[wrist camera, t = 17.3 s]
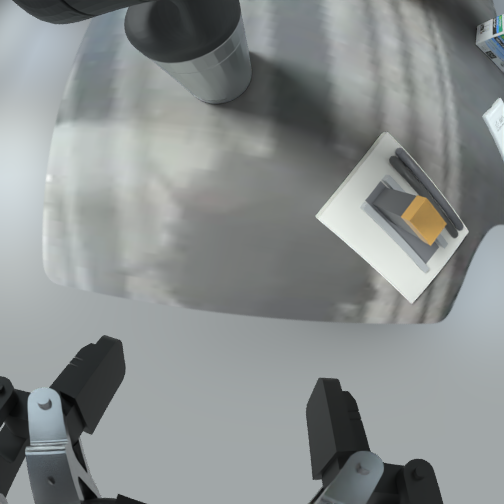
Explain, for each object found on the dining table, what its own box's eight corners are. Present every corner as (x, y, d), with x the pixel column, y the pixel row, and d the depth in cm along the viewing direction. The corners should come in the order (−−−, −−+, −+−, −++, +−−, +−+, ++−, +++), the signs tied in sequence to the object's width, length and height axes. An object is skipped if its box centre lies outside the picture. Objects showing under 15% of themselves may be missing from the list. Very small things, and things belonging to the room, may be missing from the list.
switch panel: (315, 216, 38) (319, 221, 35) (382, 132, 33) (392, 130, 30) (406, 298, 41) (415, 308, 38) (462, 228, 37) (473, 233, 33)
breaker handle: (371, 203, 34) (409, 220, 24) (384, 186, 33) (426, 197, 23) (390, 222, 35) (430, 245, 25) (403, 206, 34) (446, 224, 24)
